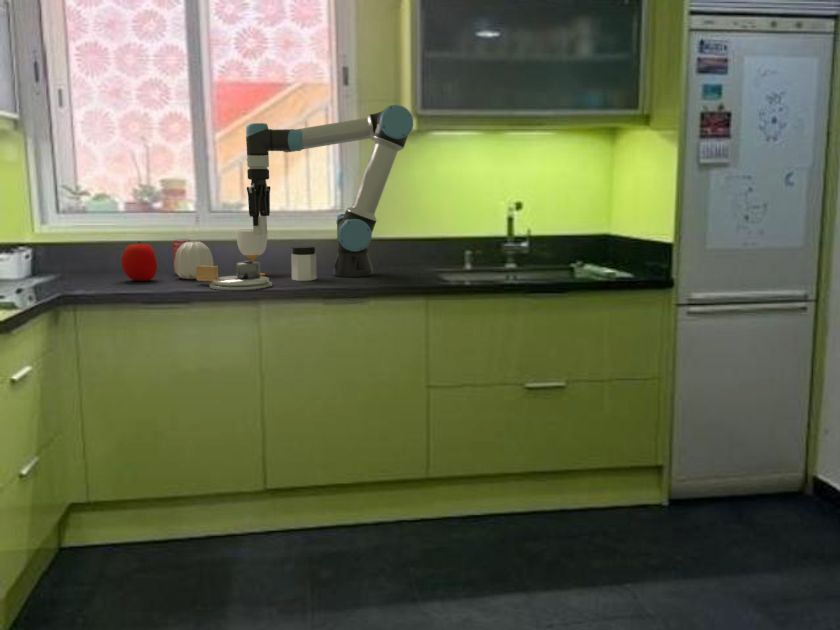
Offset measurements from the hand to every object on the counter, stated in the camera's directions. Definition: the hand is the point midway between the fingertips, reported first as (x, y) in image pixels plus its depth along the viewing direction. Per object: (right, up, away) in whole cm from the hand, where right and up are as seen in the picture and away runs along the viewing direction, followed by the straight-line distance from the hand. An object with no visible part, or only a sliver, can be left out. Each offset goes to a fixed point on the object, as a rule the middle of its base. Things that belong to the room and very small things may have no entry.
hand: (260, 234), depth 294 cm
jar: (+15, -16, +7) cm, 23 cm away
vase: (-26, -15, +10) cm, 32 cm away
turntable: (-8, -17, -10) cm, 22 cm away
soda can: (-34, -13, +22) cm, 43 cm away
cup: (-6, -14, +19) cm, 24 cm away
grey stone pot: (-3, -15, -6) cm, 17 cm away
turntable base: (-4, -19, -11) cm, 22 cm away
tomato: (-43, -17, +2) cm, 46 cm away
